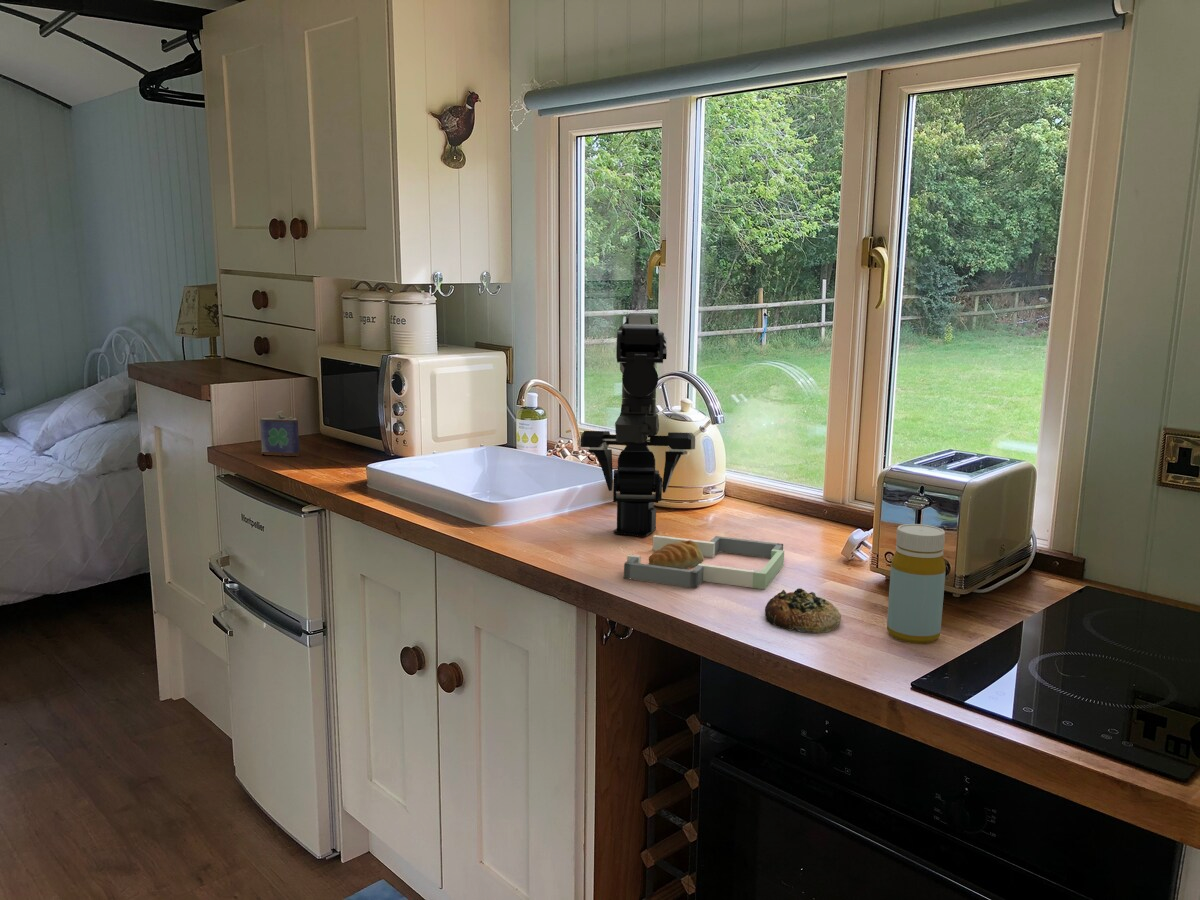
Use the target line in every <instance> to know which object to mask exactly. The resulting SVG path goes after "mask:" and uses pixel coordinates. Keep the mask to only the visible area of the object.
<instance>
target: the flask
mask: <svg viewBox="0 0 1200 900" xmlns="http://www.w3.org/2000/svg"><path fill="white" fill-rule="evenodd" d="M283 412H284V411H283V410H279V411H277V412H274V414H275V415H276V417H261V418H260V421H259V423H260V435H261V437H260V441H261V442H260V443H261V453H262V452H279V453H298V452H300V451H301V450H300V447H301V446H300V437H299V420H298V419H297V418H295V417H294V418H293V417H292V416H285V414H282V413H283Z"/></svg>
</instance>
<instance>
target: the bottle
mask: <svg viewBox="0 0 1200 900" xmlns="http://www.w3.org/2000/svg"><path fill="white" fill-rule="evenodd" d="M945 538H946V532H945V530H944V529H943V528H940V527H937V526H934V525H929V524H924V523H923V524H922V523H921V524H920V523H906V524H901V525H899V526H897V528H896V537H895V542H896V543H895V544H896V545H895V552H894V553H893V557H892V558H891V564H890V565H891V566H890V573H889V574H890V576H889V587H888V588H889V589H888V604H887V617H886V630H887V632H888V634H889V635H890V636H891V637H892V638H893V639H896V640H898V641H900V642H904V643H909V644H917V645H924V644H931V643H934V642H935V641H936V640H938V638H939V637H940V635H941V630H942V618H943V607H944V605H943V603H944V596H945V595H944V593H945V582H946V570H947V569H946V567H947V566H946V565H947V564H946V562H945V559H944V551H945V550H944V549H945Z"/></svg>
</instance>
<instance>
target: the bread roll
mask: <svg viewBox="0 0 1200 900" xmlns="http://www.w3.org/2000/svg"><path fill="white" fill-rule="evenodd" d="M764 608H765V609H764V615H765V621H766V622H767V623H769V624H770V625H773V626H774V625H775V626H776V627H778V628H780V629H784V630H788V631H792V630H794V629H796V630H797V631H799V633H809V634H823V633H830V632H831V631H832V632H833V630H834V629H835V628H837V627H838V625H839V624H840V623H841V621H842V615H841V613H840V612H839V611H840V610H839V609H838V608H837V607H836V606H835V605H834V604H833V603H832V602H831V601H829V600H826V599H825V598H822V597H821V596H818V595H816V592H814V591H810V592H807V591H806V590H805V589H803V588H796V589H795V590H794V591H791V592H790V591H789V592H786V591H785V589H782V590H781V591H780V592H779V593H777V594H775V595H774V596H773V597H772V598H770V599H769V600H768V602H767V603H766V605H765V607H764Z"/></svg>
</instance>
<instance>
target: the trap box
mask: <svg viewBox="0 0 1200 900" xmlns="http://www.w3.org/2000/svg"><path fill="white" fill-rule="evenodd" d="M688 540H691V541H693V542H695V543H696V544H698V546H699V549H700V551H701V552H702V556H703V558H704V557H705V558H715V556H716V555H718V554H719V553H727V554H733V555H743V556H749V557H757V558H758V557H759V558H768V559H769V561H768V562H767V563H766V565H764V567H763V568H762V569H761V570H760V571H759V570H752V569H746V568H745V569H744V568H738V567H730V566H723V565H714V564H706V563H701V564H700V563H699V564H698V565H697V566H695V567H693V569H687V568H685V569H678V568H670V567H663V566H655V565H649V563H648V564H647V563H641V561H642V560H641V555H637V554H628V555H627V556H626V561H625V562H624V563H623V579H625V578H631V579H630V580H632V579H636V580H635V581H639V580H642V581H641V582H647V581H648V582H649V583H654V584H661V585H669V586H676V587H684V588H691V589H697V588H698V587H699V586H700V585H701V584H702V583H703V582H709V583H716V584H721V585H722V584H723V585H729V586H730V585H732V586H738V587H747V588H751V589H761V590H766V589H767V587H768V586H770V584H771V582H772V581H773V580H774V579H775V577H776V576H777V574H778V573H779V572H780V570H781V569H782V568H783V566H784V565H785V550H784V543H777V542H770V541H762V540H761V541H760V540H752V539H744V538H737V537H726V536H718V535H715V536H714V537H713V538H712V539H711V540H710V541H707V540H699V539H691V538H683V537H681V538H680V537H674V536H668V535H667V536H665V535H664V536H663V535H658V534H654V535H653V536H652V551H654V552H655V551H657V550H660V549H661V548H663V546H664V545H667V544H671V543H679V542H681V541H688Z"/></svg>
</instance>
